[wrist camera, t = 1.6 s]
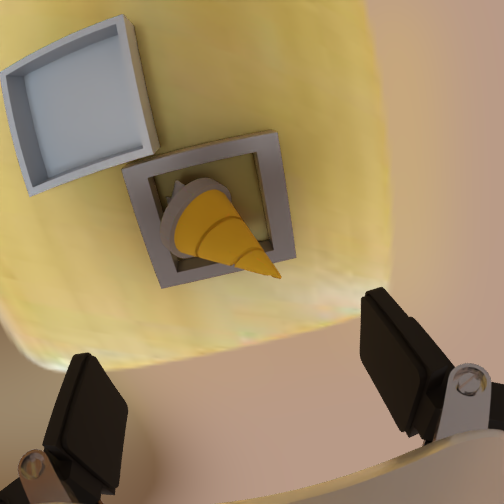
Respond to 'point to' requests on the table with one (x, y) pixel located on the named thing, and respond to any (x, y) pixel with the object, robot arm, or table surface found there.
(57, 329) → the table surface
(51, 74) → the parts tray
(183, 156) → the holder panel
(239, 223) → the grooved yellow cone
